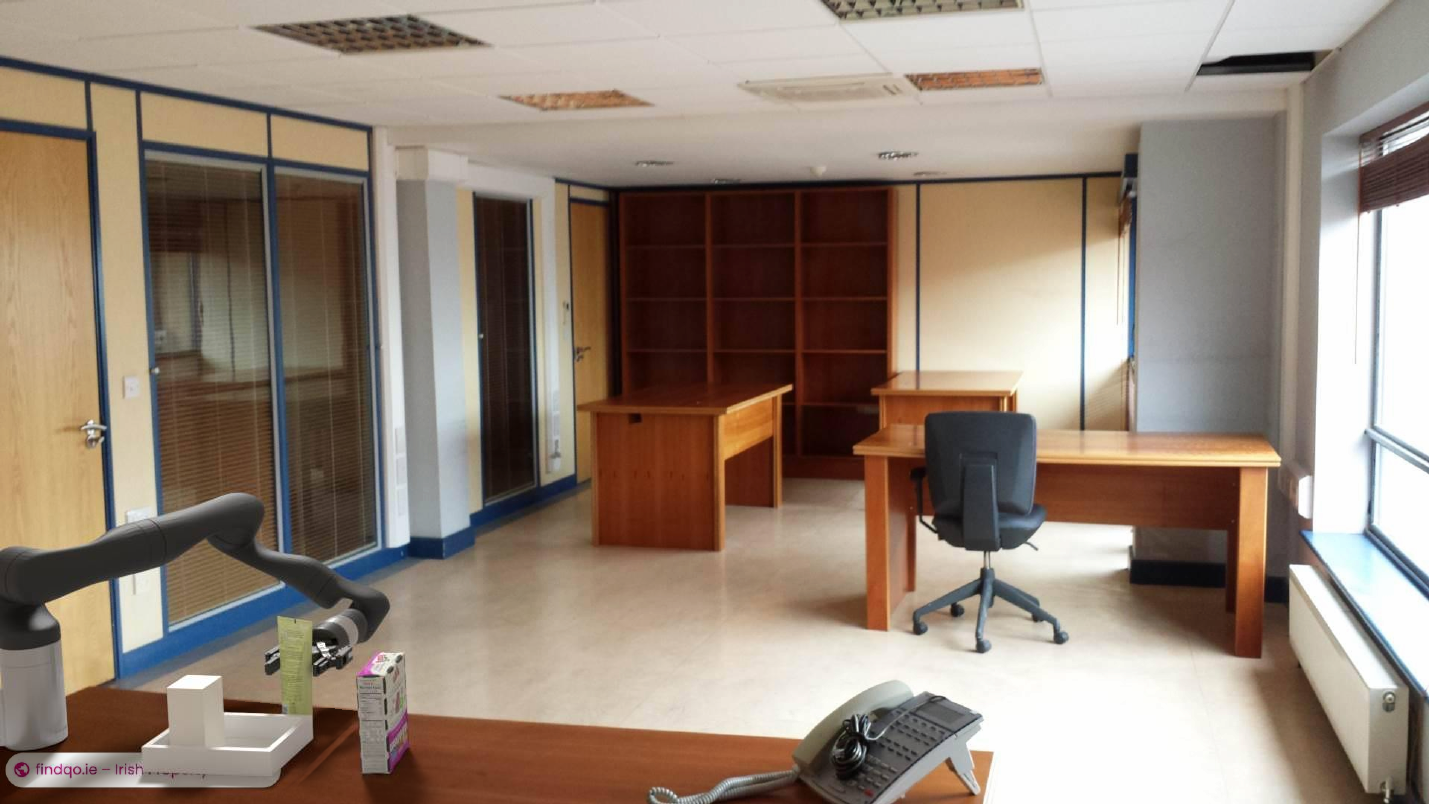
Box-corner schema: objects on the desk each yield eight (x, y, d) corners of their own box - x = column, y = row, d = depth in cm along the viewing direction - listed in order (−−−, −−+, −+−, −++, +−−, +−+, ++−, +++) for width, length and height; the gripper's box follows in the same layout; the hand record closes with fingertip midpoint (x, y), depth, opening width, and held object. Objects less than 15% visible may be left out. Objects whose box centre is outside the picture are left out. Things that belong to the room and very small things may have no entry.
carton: (170, 760, 190) (166, 687, 188) (190, 745, 196) (186, 675, 194) (206, 761, 189) (202, 688, 188) (225, 746, 195) (221, 676, 194)
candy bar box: (380, 746, 197) (376, 651, 195) (409, 746, 197) (406, 651, 195) (358, 775, 186) (354, 674, 184) (390, 775, 186) (386, 674, 184)
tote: (143, 777, 185) (141, 747, 185) (194, 739, 200) (192, 711, 200) (271, 782, 184) (270, 751, 183) (313, 743, 198) (312, 715, 198)
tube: (316, 720, 209) (311, 612, 207) (317, 730, 204) (312, 620, 202) (282, 724, 207) (277, 616, 205) (282, 735, 202) (277, 624, 200)
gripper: (368, 661, 218) (332, 693, 202) (294, 659, 219) (251, 690, 203) (367, 621, 217) (330, 650, 201) (292, 620, 218) (249, 648, 202)
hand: (290, 670), depth 202 cm, fingers open, 8 cm apart
